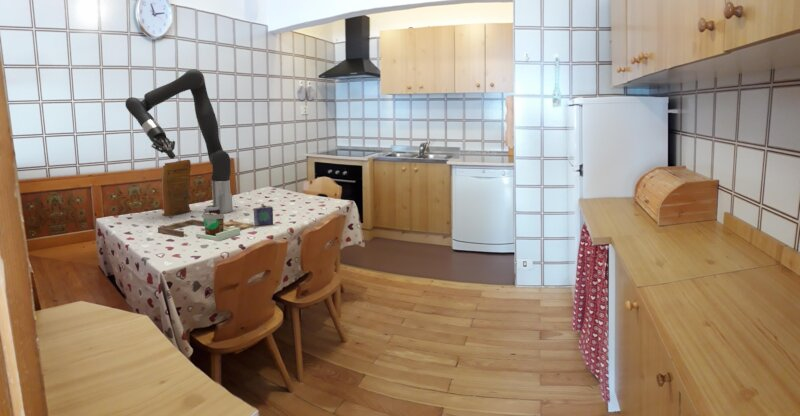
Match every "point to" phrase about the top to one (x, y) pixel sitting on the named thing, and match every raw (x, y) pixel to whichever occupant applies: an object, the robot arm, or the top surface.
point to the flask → (263, 215)
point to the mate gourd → (214, 207)
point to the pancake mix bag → (176, 187)
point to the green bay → (221, 234)
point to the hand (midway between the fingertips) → (173, 157)
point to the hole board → (237, 225)
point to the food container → (213, 223)
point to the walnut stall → (169, 228)
